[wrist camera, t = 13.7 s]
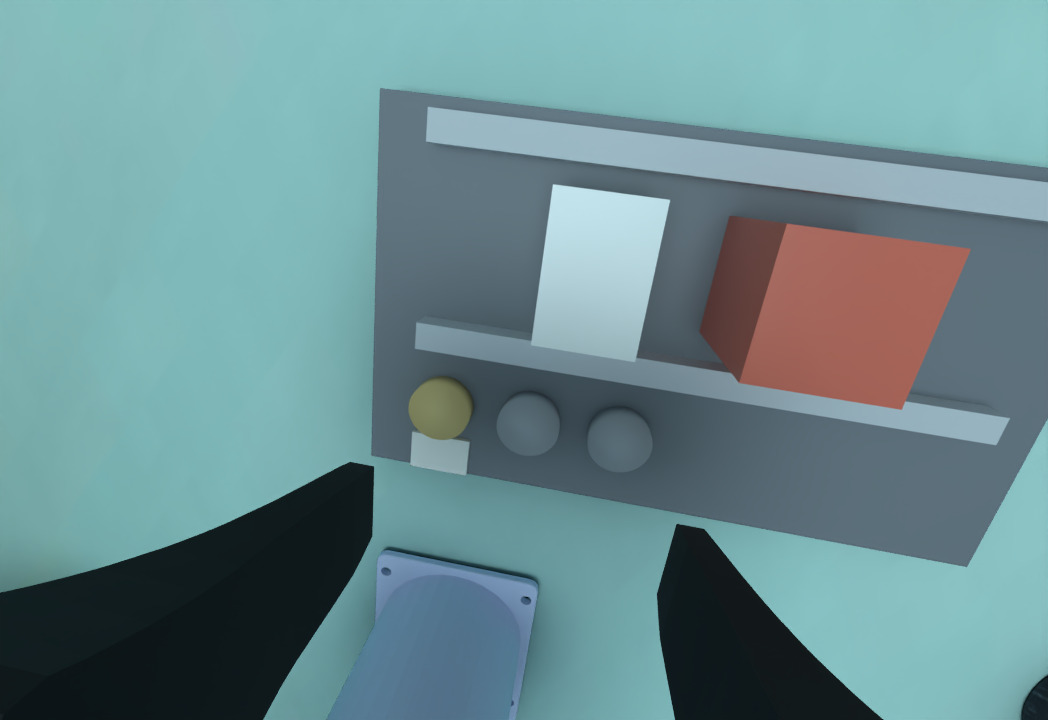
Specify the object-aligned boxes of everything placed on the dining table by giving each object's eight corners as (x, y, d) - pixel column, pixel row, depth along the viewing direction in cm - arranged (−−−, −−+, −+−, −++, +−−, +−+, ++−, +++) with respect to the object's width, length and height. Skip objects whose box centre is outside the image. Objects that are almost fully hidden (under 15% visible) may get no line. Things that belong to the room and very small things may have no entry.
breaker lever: (626, 326, 17) (635, 362, 14) (543, 313, 18) (530, 345, 14) (652, 198, 16) (670, 199, 12) (562, 186, 16) (553, 184, 13)
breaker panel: (940, 541, 20) (986, 586, 18) (385, 438, 22) (360, 467, 20) (1122, 184, 15) (1217, 182, 13) (397, 96, 17) (366, 81, 15)
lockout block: (815, 350, 17) (901, 409, 12) (699, 331, 17) (739, 382, 12) (856, 232, 16) (971, 249, 11) (729, 215, 16) (786, 223, 11)
